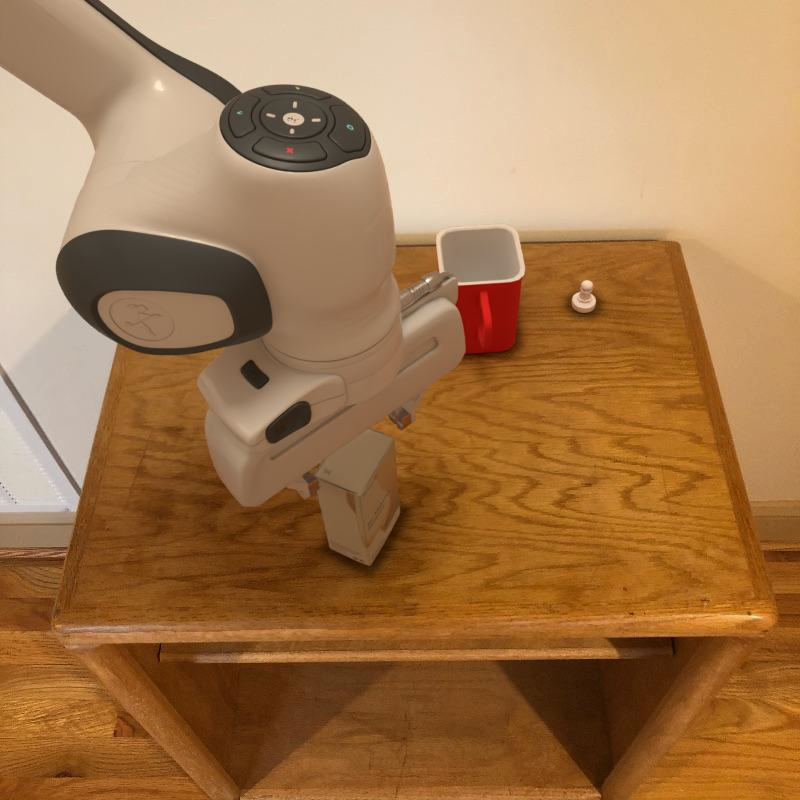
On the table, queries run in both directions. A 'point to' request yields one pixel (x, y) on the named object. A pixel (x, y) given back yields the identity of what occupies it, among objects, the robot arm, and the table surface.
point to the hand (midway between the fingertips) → (356, 453)
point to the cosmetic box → (360, 495)
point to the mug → (484, 282)
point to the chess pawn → (584, 298)
